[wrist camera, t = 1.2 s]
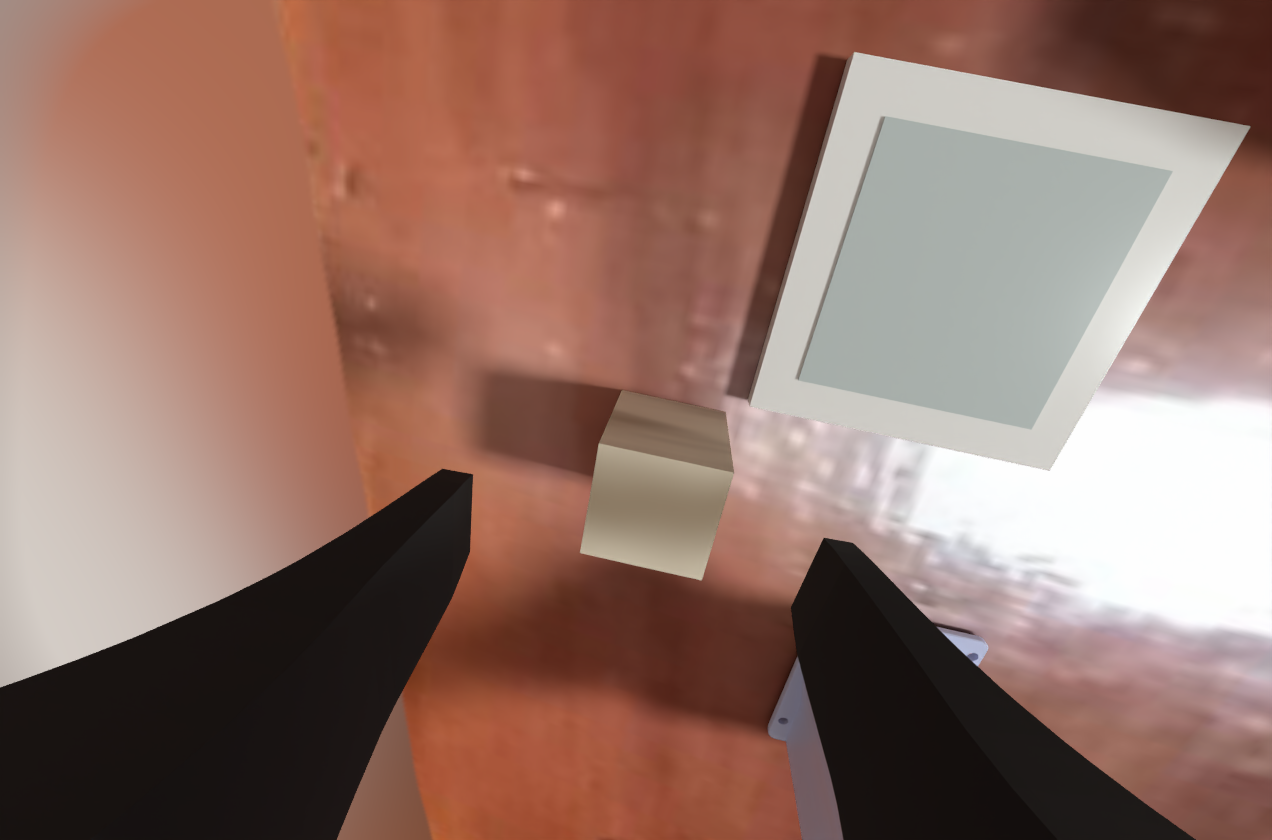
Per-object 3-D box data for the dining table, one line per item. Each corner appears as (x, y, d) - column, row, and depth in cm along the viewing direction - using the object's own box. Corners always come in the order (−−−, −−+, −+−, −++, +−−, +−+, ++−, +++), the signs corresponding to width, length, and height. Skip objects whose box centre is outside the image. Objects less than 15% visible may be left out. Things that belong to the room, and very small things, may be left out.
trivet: (1037, 461, 21) (1051, 472, 20) (747, 399, 21) (749, 407, 20) (1225, 130, 16) (1253, 125, 15) (847, 59, 16) (855, 50, 15)
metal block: (700, 500, 23) (701, 580, 18) (605, 479, 23) (580, 552, 18) (725, 411, 21) (733, 472, 16) (622, 389, 22) (598, 443, 16)
